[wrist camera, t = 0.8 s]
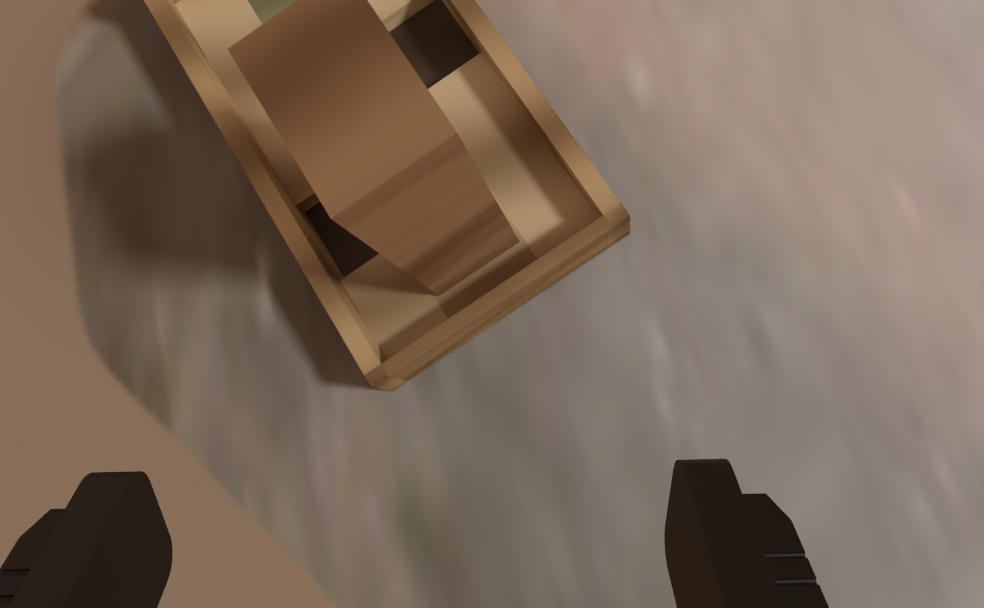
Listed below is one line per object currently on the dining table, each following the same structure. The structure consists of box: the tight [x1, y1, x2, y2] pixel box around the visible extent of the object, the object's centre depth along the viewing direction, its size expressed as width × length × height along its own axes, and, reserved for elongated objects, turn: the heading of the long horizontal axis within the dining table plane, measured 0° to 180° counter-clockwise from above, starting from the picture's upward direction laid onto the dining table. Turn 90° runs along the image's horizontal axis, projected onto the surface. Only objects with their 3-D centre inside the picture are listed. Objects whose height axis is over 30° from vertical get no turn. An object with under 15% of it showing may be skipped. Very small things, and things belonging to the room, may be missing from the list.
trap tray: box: [144, 0, 630, 391], centre depth 33 cm, size 22×12×4 cm, turn 32°
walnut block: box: [228, 0, 520, 296], centre depth 27 cm, size 6×4×12 cm, turn 32°
